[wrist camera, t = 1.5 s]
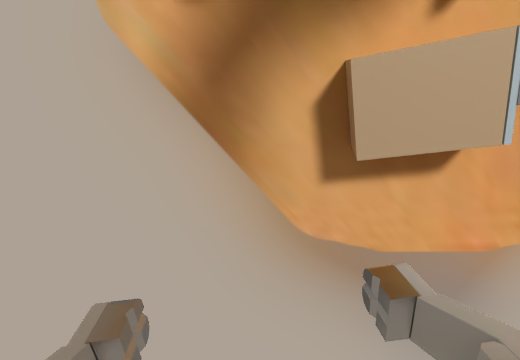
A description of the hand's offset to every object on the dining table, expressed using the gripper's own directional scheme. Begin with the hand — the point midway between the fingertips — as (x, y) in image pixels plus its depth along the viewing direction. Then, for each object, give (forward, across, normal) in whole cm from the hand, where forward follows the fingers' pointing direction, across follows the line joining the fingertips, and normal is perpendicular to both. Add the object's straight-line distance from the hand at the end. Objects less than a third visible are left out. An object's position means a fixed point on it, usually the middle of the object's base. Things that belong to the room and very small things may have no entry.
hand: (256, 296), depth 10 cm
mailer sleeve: (+34, -27, -3) cm, 44 cm away
